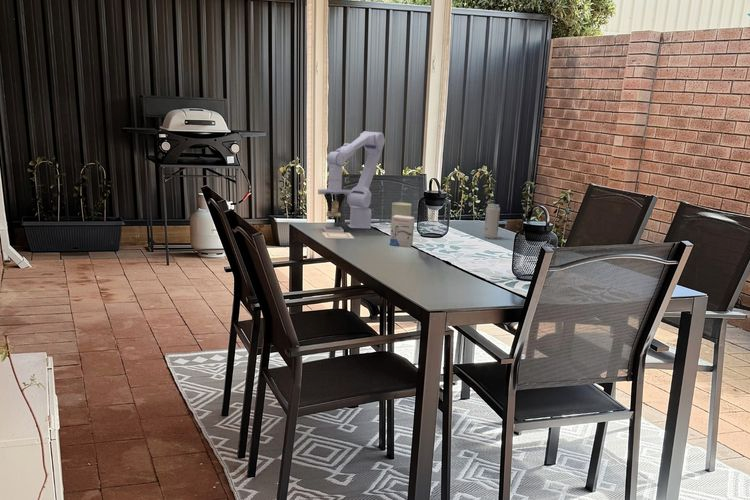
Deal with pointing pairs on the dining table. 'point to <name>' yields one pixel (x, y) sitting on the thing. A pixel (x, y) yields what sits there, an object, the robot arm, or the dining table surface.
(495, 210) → the energy drink can
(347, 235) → the mat
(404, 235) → the ink box
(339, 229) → the ink pad
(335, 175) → the robot arm
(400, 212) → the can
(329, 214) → the stamp
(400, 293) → the dining table surface
